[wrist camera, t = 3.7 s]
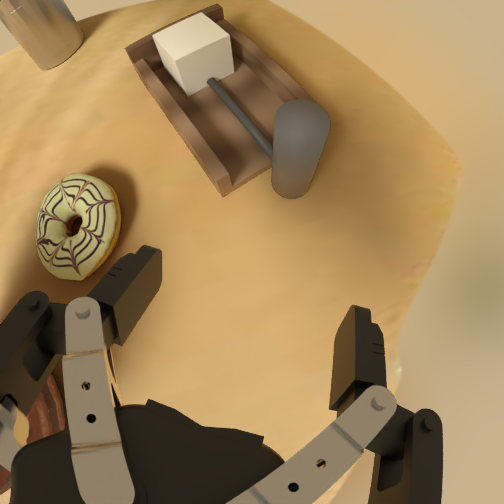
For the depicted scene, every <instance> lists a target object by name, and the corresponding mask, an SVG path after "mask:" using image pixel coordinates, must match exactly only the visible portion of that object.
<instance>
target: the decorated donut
mask: <svg viewBox="0 0 504 504" xmlns="http://www.w3.org/2000/svg"><path fill="white" fill-rule="evenodd" d="M78 217H82V219H83V223H82V225H81V227H80V230H79V232H78V234H76V235H75V236H73V237H72V233H71V228H72V225H73V222H74V220H75V219H76V218H78ZM120 227H121V210H120V207H119V202H118V198H117V195H116V193H115V191H114V189H113V188H112V187H111V186H110V185H109V184H107V183H106V182H104V181H103V180H101V179H99V178H97V177H95V176H89V175H87V174H84V173H75V174H71V175H69V176H68V177H66V178H64V179H62V180H61V181H59V182H58V183H57V184H56V185H55V186H54V187H53V188H52V189H51V190H50V191H49V192H48V193H47V194H46V195H45V197H44V200H43V202H42V205H41V208H40V210H39V212H38V216H37V226H36V246H37V251H38V254H39V257H40V260H41V262H42V264H43V265H44V266H45V268H46V269H47V270H48V271H49V272H50V273H51V274H53V275H54V276H56V277H58V278H60V279H70V280H83V279H84V278H86V277H89V276H90V275H91V274H92V273H93V272H94V271H96V270H97V269H98V268H99V267H100V266H101V265H102V264H103V263H104V262H105V261H106V259H107V258H108V257H109V255H110V254H111V253H112V251H113V249H114V248H115V246H116V243H117V240H118V237H119V233H120V229H121V228H120Z"/></svg>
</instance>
